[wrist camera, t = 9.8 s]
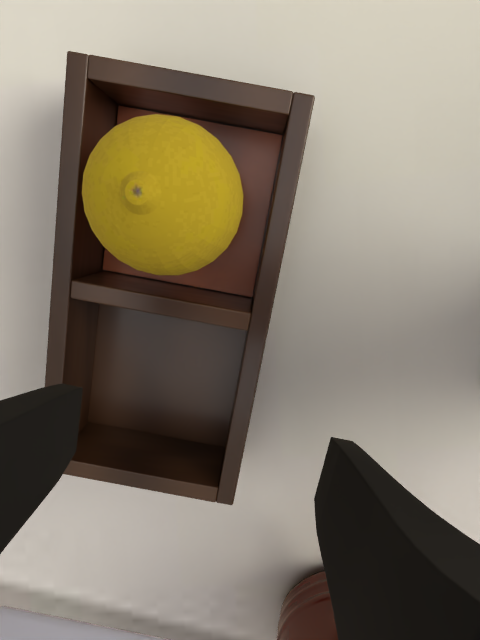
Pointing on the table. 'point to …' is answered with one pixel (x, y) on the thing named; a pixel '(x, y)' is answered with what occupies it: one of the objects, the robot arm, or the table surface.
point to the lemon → (162, 194)
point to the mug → (308, 611)
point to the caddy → (170, 287)
